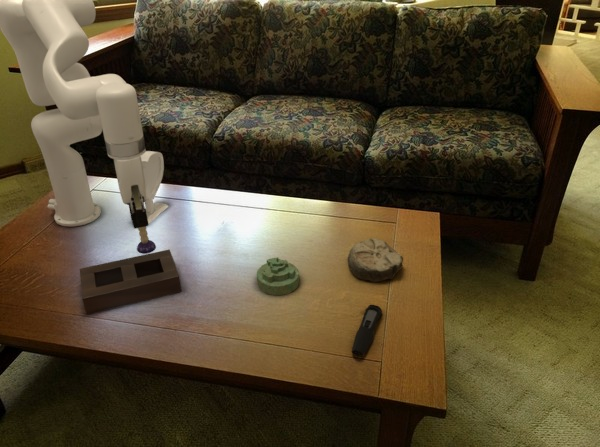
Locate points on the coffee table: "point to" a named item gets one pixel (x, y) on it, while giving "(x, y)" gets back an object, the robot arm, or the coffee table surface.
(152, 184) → the heart sculpture
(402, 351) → the coffee table surface
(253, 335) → the coffee table surface
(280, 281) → the decorative artifact
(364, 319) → the electric trimmer
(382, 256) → the stone
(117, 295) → the frame
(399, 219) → the coffee table surface
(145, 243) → the toy lamp
